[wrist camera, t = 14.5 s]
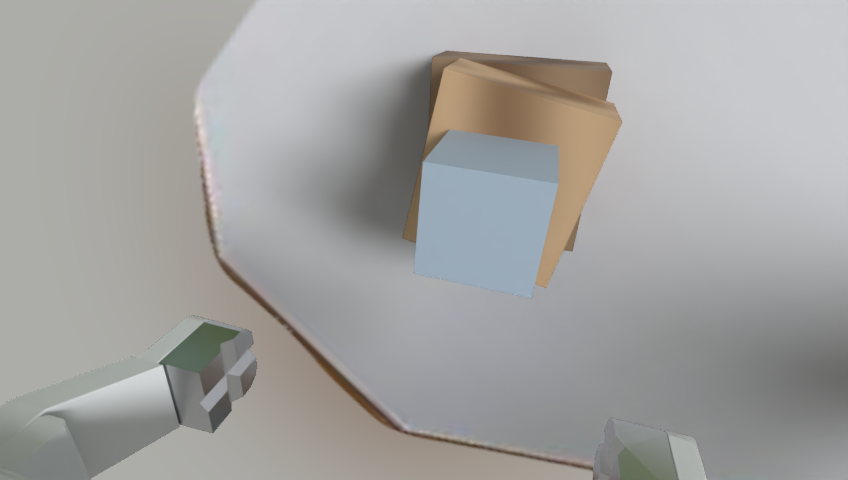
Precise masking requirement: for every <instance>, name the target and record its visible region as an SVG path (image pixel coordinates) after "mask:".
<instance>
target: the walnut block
mask: <svg viewBox="0 0 848 480" xmlns="http://www.w3.org/2000/svg"><path fill="white" fill-rule="evenodd" d="M460 58H463V59H466V60H469V61H473V62H476V63H479V64H483V65H486V66H489V67H493V68H496V69H499V70H503V71H506V72H510V73H513V74H516V75H520V76H523V77H526V78H530V79H533V80H536V81H540V82H543V83H547V84H550V85H553V86H557V87H560V88H563V89H567V90H570V91H573V92H577V93H580V94H584V95H587V96H590V97H594V98H597V99H600V100H604V101H606V98H607V93H608V89H609V84H610V80H611V75H612V71H611V69H610V68H609V66H608V65H607V63H601V62H588V61H575V60H562V59H549V58H535V57H522V56H509V55H496V54H483V53H469V52H456V51H445V52H443V53H441V54H439V55H437V56H434V57H432V68H431V89H430V110H429V128H430V124H431V119H432V115H433V111H434V107H435V103H436V99H437V95H438V91H439V87H440V83H441V79H442V75H443V71H444V68H445V67H447V66H449V65H450V64H452V63H454V62H455V61H457V60H459V59H460ZM428 132H429V131H428ZM580 215H581V213H580ZM580 215H579V217H578V219H577V221H576V224H575V226H574V228H573V230H572V232H571V234H570V237H569V239H568V241H567V243H566V245H565V247H564V250H566V251H573V247H574V242H575V238H576V233H577V229H578V224H579V220H580Z"/></svg>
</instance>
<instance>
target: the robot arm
mask: <svg viewBox="0 0 848 480" xmlns="http://www.w3.org/2000/svg"><path fill="white" fill-rule="evenodd" d="M252 345H253V337H252V332H251V331H249V330H247V329H243V328H240V327H236V326H232V325H229V324H225V323H221V322H218V321H214V320H209V319H205V318H202V317H198V316H194V315H193V316H189V317H186V318H185V319H184V320H183V321H181V322H180V323H179V324H178V325H177V326H175V327H174V328H173V329H172V330H171V331H169V332H168V333H167V334H166V335H165V336H163V337H162V338H161V339H160V340H159V341H157V342H156V343H155V344H154V345H153V346H151V347H150V348H149V349H148V350H147V351H145V352H144V353H143V354H142V355H141V356H139V357H138V358H136V357H129V358H127V359H124V360H121V361H118V362H115V363H112V364H109V365H107V366H104V367H101V368H98V369H95V370H92V371H90V372H87V373H84V374H81V375H78V376H76V377H73V378H70V379H67V380H64V381H61V382H59V383H56V384H53V385H50V386H47V387H44V388H42V389H39V390H36V391H33V392H30V393H28V394H25V395H22V396H19V397H16V398H14V399H11V400H9V401H7V402H6V403H5V404H3V405H2V406H0V480H91V478H92V477H94V476H96V475H98V474H99V473H101V472H103V471H104V470H106V469H108V468H109V467H111V466H113V465H115V464H117V463H118V462H120V461H122V460H123V459H125V458H127V457H129V456H130V455H132V454H134V453H135V452H137V451H139V450H141V449H142V448H144V447H146V446H148V445H149V444H151V443H153V442H154V441H156V440H158V439H159V438H161V437H163V436H164V435H166V434H168V433H170V432H171V431H173V430H175V429H177V428H178V427H179V426H180V425H184V426H187V427H191V428H195V429H198V430H202V431H206V432H210V433H214V431H215V430H216V429H217V428H218V427H219V425H220V424H221V423H222V422H223V421H224V419H225V418H226V417H227V416H228V414H229V413H230V412H231V411H232V410H231V409H232V408H231V407H232V401H234V400H237V399H239V398H240V397H243V396H244V395H245V393H246V392H247V391H248V390H249V388H250V387H251V385H252V382H253V380H254V378H255V376H256V369H257V362H256V357H255V356H254V354H253V353H252V352H251V351H250V349H249V348H250V347H251V346H252ZM179 424H180V425H179ZM604 432H605V443H603V444H601V445H599V447H598V450H597V454H596V457H595V463H594V469H593V480H707V478H706V475H705V471H704V468H703V465H702V461H701V458H700V454H699V451H698V448H697V444H696V441H695V440H694V439H693V438H692V437H691V436H687V435H682V434H678V433H674V432H670V431H665V430H664V431H663V430H661V429H657V428H652V427H648V426H644V425H639V424H635V423H631V422H627V421H622V420H618V419H614V418H610V419H609V421H608V422H607V425H606V428H605V430H604Z"/></svg>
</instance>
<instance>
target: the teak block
mask: <svg viewBox="0 0 848 480" xmlns="http://www.w3.org/2000/svg"><path fill="white" fill-rule="evenodd" d="M621 124H622V120H621V118H620V116H619V114H618V112H617V110H616V107H615V105H614V103H610V102H607V101H604V100H600V99H597V98H594V97H590V96H587V95H584V94H580V93H577V92H573V91H570V90H567V89H563V88H560V87H557V86H553V85H550V84H547V83H543V82H540V81H536V80H533V79H530V78H526V77H523V76H520V75H516V74H513V73H510V72H506V71H503V70H499V69H496V68H493V67H489V66H486V65H483V64H479V63H476V62H473V61H469V60H466V59H463V58H460V59H459V60H457V61H455V62H454V63H452V64H450V65H449V66H447V67H445V68H444V71H443V75H442V79H441V83H440V87H439V91H438V95H437V99H436V103H435V107H434V111H433V115H432V119H431V124H430V128H429V132H428V136H427V140H426V144H425V148H424V152H423V156H422V160H421V164H420V168H419V172H418V176H417V180H416V184H415V188H414V193H413V197H412V201H411V205H410V209H409V213H408V217H407V221H406V225H405V229H404V233H403V237H402V238H403V239H406V240H409V241H412V242H415V243H416V238H417V226H418V215H419V203H420V191H421V179H422V167H423V161H424V160H425V159H426V157H427V156H428V155H429V154H430V153H431V151H432V150H433V149H434V148H435V147H436V145H437V144H438V143H439V142H440V141H441V139H442V138H443V137H444V136H445V135H446V133H447V132H448V131H449V130H450V129H452V130H458V131H465V132H472V133H478V134H485V135H492V136H498V137H505V138H512V139H518V140H525V141H531V142H538V143H545V144H551V145H558V146H559V184H558V188H557V192H556V197H555V201H554V205H553V209H552V214H551V218H550V222H549V226H548V231H547V235H546V239H545V243H544V248H543V252H542V256H541V260H540V265H539V269H538V273H537V278H536V282H535V284H536V285H539V286H541V287H544V288H546V287H547V284H548V282H549V280H550V278H551V276H552V274H553V271H554V269H555V267H556V265H557V263H558V260H559V258H560V256H561V254H562V252H563V250H564V247H565V245H566V243H567V241H568V239H569V237H570V234H571V232H572V230H573V228H574V226H575V224H576V221H577V219H578V217H579V215H580V213H581V211H582V208H583V206H584V204H585V202H586V200H587V198H588V195H589V193H590V191H591V189H592V187H593V185H594V182H595V180H596V178H597V176H598V174H599V172H600V169H601V167H602V165H603V163H604V161H605V159H606V156H607V154H608V152H609V150H610V148H611V145H612V143H613V141H614V139H615V137H616V135H617V132H618V130H619V128H620V126H621Z"/></svg>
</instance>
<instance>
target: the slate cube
mask: <svg viewBox="0 0 848 480" xmlns="http://www.w3.org/2000/svg"><path fill="white" fill-rule="evenodd" d="M558 184H559V146H558V145H551V144H545V143H538V142H531V141H525V140H518V139H512V138H505V137H498V136H492V135H485V134H478V133H472V132H465V131H458V130H452V129H450V130H449V131H448V132H447V133H446V135H445V136H444V137H443V138H442V139H441V141H440V142H439V143H438V144H437V145H436V147H435V148H434V149H433V150H432V151H431V153H430V154H429V155H428V156H427V157H426V159H425V160H424V161H423V167H422V179H421V191H420V203H419V215H418V226H417V238H416V250H415V262H414V274H418V275H423V276H428V277H432V278H437V279H442V280H447V281H451V282H456V283H461V284H466V285H470V286H475V287H480V288H484V289H489V290H494V291H499V292H503V293H508V294H513V295H518V296H522V297H527V298H532V295H533V290H534V286H535V282H536V278H537V273H538V269H539V265H540V260H541V256H542V252H543V248H544V243H545V239H546V235H547V231H548V226H549V222H550V218H551V214H552V209H553V205H554V201H555V197H556V192H557V188H558Z"/></svg>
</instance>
